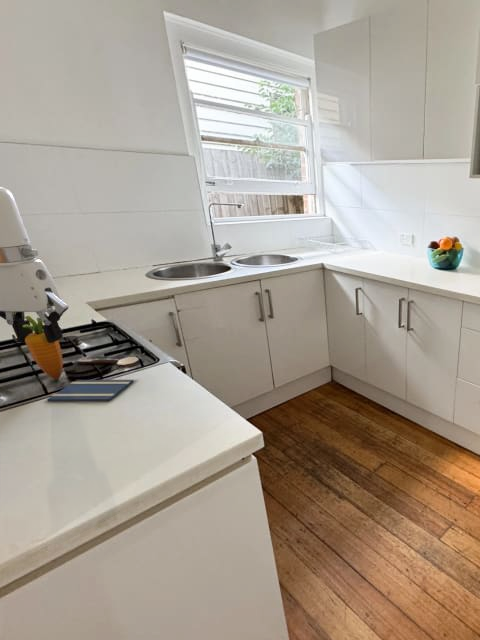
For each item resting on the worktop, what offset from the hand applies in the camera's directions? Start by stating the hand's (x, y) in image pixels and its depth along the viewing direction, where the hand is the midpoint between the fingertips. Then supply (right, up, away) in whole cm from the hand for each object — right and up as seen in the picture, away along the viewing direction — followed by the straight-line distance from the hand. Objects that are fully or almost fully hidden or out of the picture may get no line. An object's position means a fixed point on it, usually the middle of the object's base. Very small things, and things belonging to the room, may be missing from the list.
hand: (41, 339), depth 81 cm
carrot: (0, -9, +4) cm, 10 cm away
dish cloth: (+11, -11, 0) cm, 16 cm away
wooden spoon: (+5, -6, +12) cm, 14 cm away
